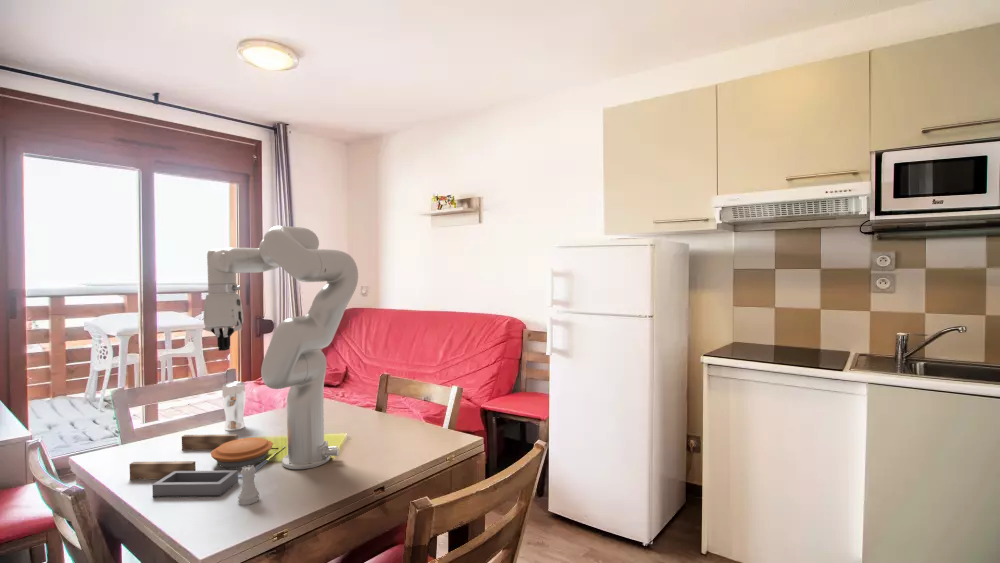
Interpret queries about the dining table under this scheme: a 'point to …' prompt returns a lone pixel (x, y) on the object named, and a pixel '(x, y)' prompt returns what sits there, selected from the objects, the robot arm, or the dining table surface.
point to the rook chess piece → (248, 487)
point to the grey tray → (195, 484)
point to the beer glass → (234, 405)
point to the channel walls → (165, 468)
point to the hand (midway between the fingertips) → (224, 349)
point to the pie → (241, 452)
